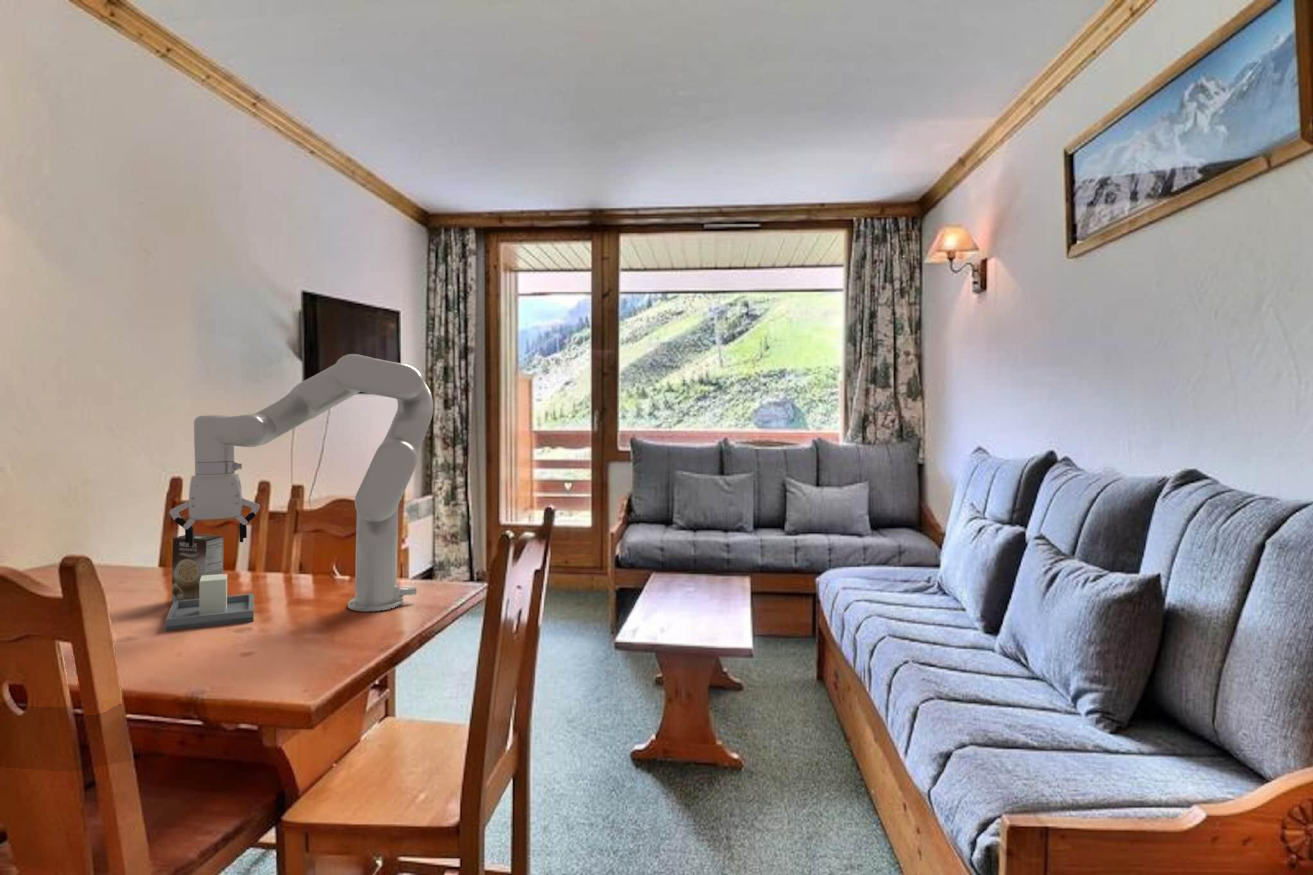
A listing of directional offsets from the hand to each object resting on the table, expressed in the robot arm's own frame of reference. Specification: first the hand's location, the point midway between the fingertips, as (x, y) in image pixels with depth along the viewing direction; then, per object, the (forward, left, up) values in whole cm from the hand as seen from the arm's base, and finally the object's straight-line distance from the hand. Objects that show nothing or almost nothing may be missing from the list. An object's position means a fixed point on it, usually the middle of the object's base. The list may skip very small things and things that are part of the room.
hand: (216, 543), depth 152 cm
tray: (+1, 0, -17) cm, 17 cm away
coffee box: (+5, -17, -17) cm, 25 cm away
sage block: (+1, 0, -16) cm, 16 cm away
